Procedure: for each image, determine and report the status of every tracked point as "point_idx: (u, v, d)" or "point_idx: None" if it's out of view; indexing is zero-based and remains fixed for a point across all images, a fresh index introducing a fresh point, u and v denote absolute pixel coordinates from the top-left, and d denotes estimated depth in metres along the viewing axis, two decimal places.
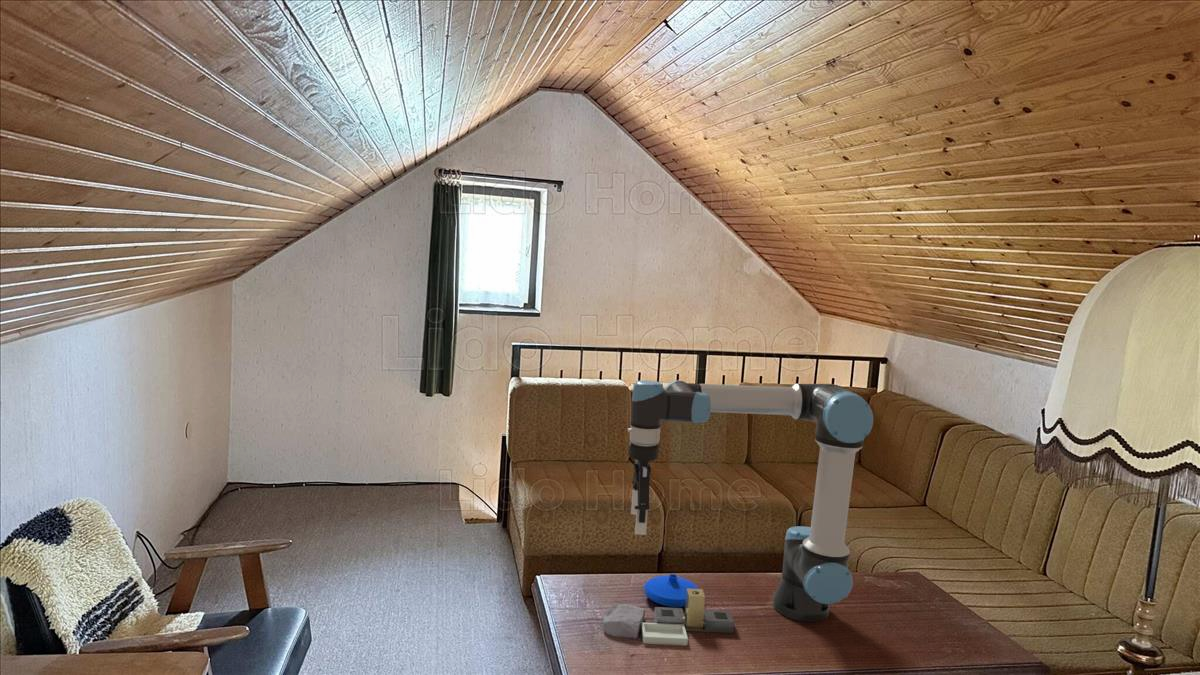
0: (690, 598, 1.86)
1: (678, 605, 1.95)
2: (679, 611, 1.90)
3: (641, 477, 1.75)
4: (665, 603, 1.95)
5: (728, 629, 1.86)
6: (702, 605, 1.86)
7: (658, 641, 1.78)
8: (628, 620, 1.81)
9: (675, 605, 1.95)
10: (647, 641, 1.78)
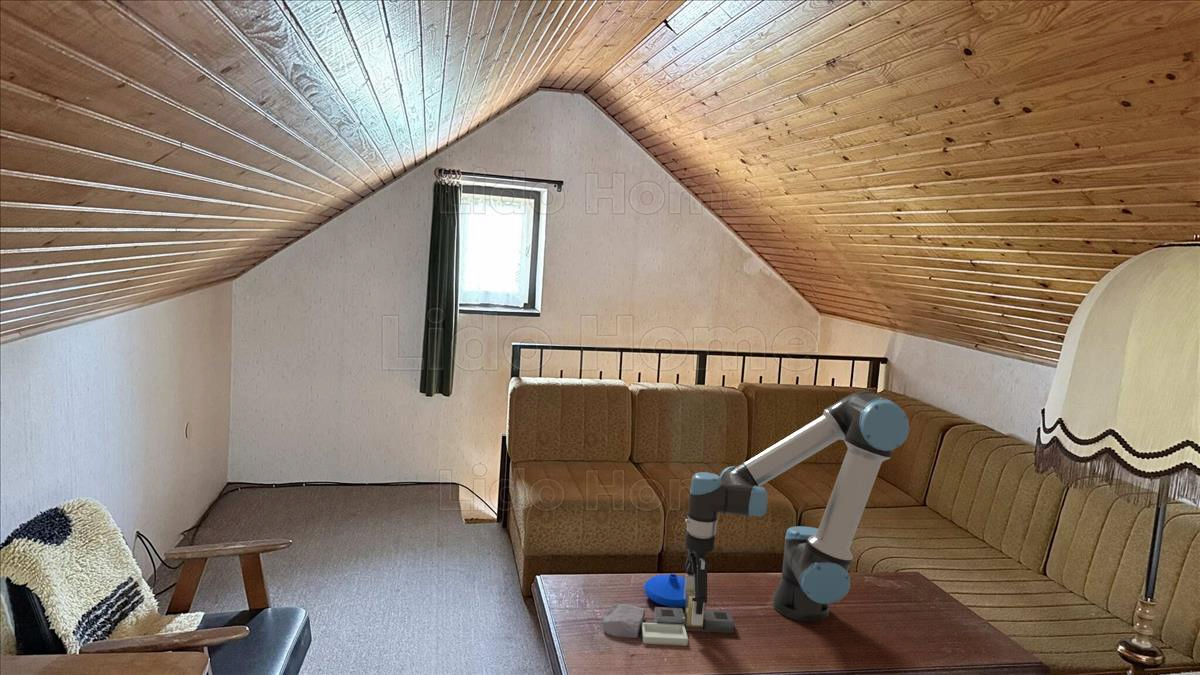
0: (690, 598, 1.86)
1: (678, 605, 1.95)
2: (679, 611, 1.90)
3: (699, 570, 1.80)
4: (665, 603, 1.95)
5: (728, 629, 1.86)
6: None
7: (658, 641, 1.78)
8: (628, 620, 1.81)
9: (675, 605, 1.95)
10: (647, 641, 1.78)
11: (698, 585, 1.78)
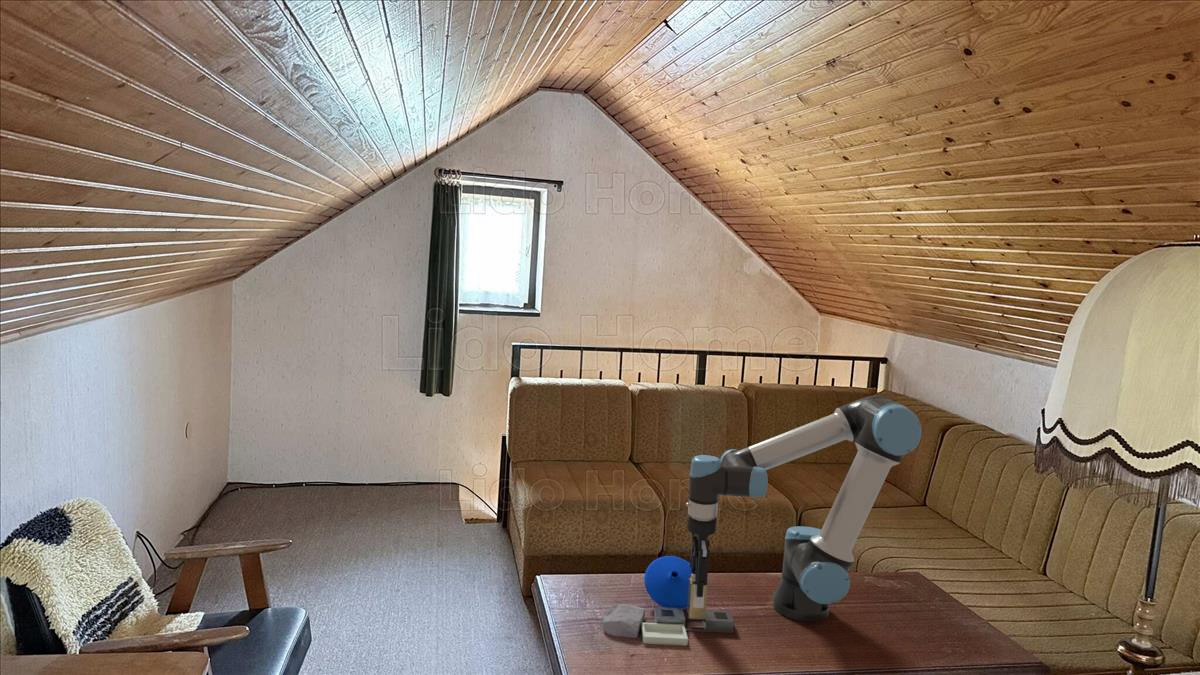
0: (692, 587, 1.85)
1: None
2: (679, 611, 1.90)
3: (701, 557, 1.80)
4: None
5: (728, 629, 1.86)
6: (705, 594, 1.86)
7: (658, 641, 1.78)
8: (628, 620, 1.81)
9: None
10: (647, 641, 1.78)
11: (699, 571, 1.81)
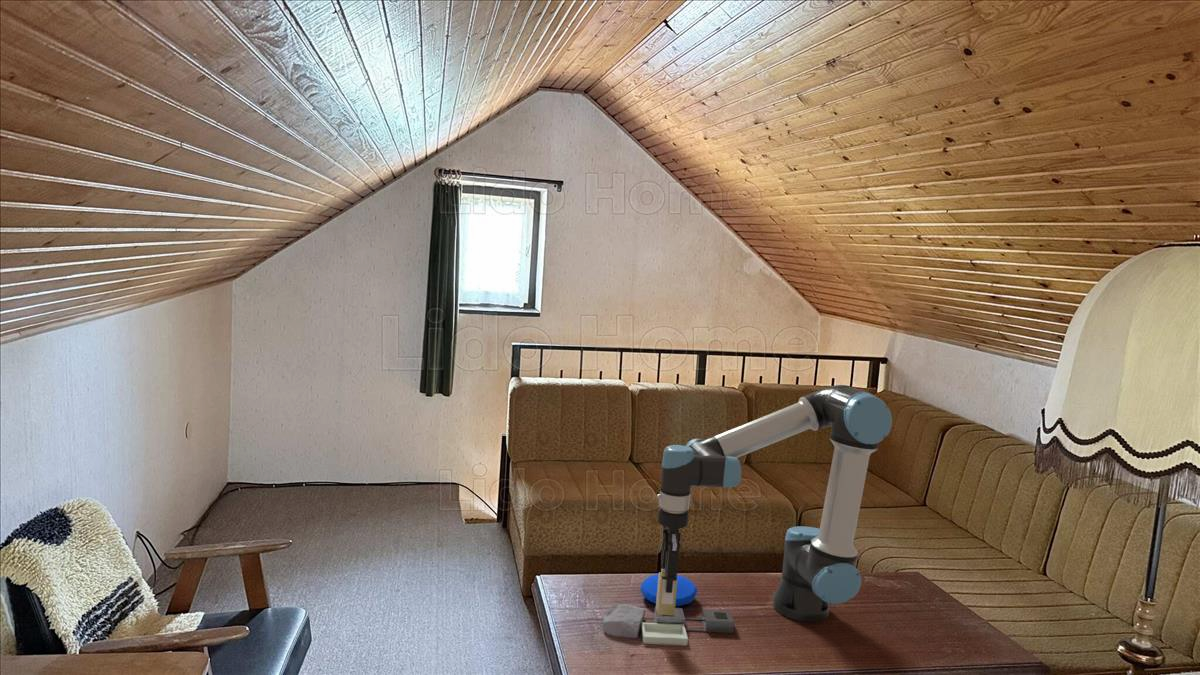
0: (662, 582, 1.78)
1: (690, 600, 1.97)
2: (679, 611, 1.90)
3: (670, 551, 1.73)
4: (680, 603, 1.95)
5: (728, 629, 1.86)
6: (674, 589, 1.78)
7: (658, 641, 1.78)
8: (628, 620, 1.81)
9: (688, 602, 1.96)
10: (647, 641, 1.78)
11: (668, 565, 1.74)
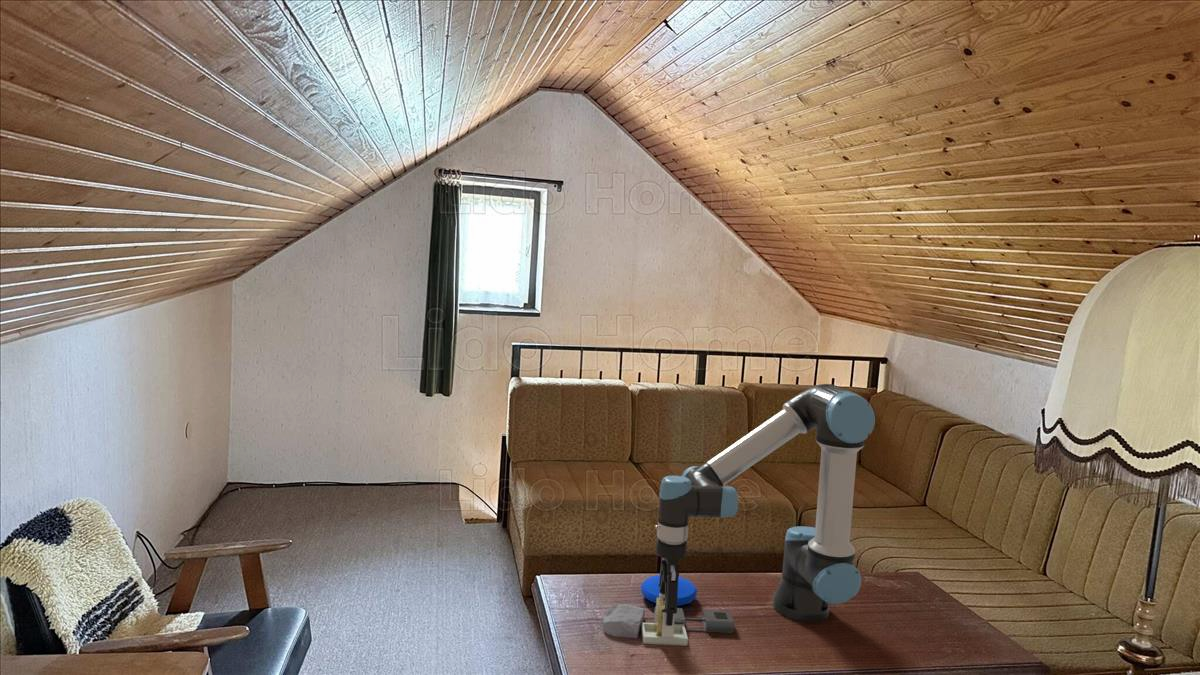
0: (660, 607, 1.79)
1: (692, 599, 1.98)
2: (679, 611, 1.90)
3: (669, 581, 1.73)
4: (684, 602, 1.95)
5: (728, 629, 1.86)
6: None
7: (658, 641, 1.78)
8: (629, 620, 1.81)
9: (690, 600, 1.97)
10: (647, 641, 1.78)
11: (668, 596, 1.72)
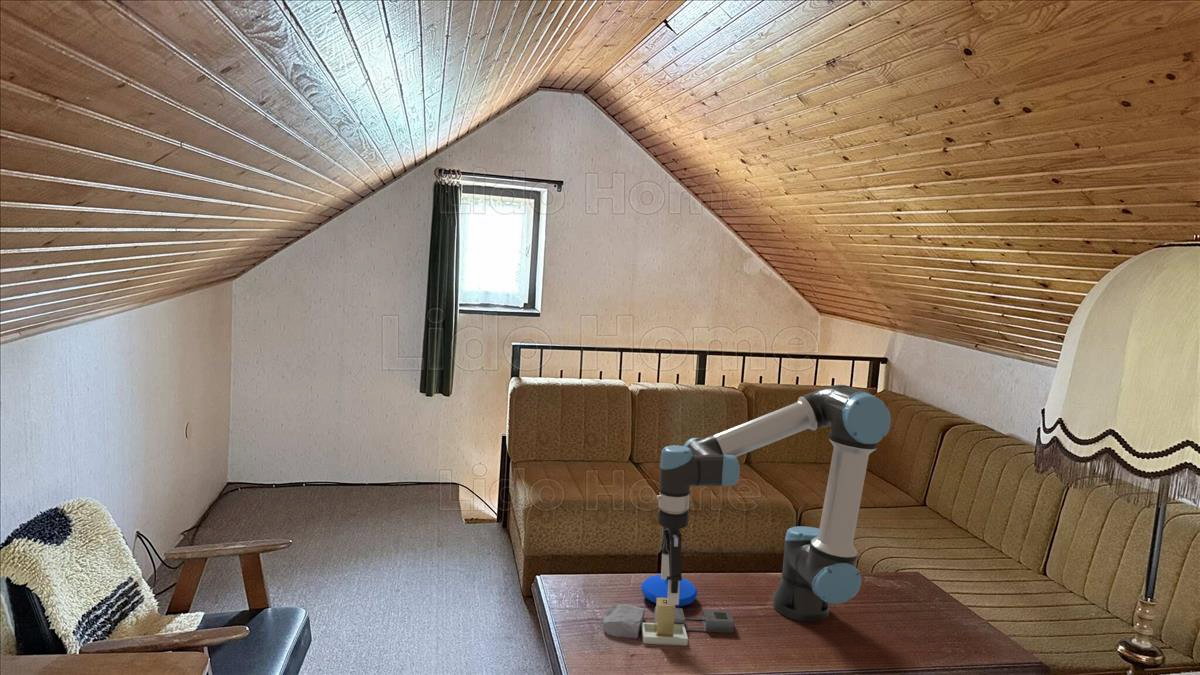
0: (660, 607, 1.79)
1: (693, 600, 1.98)
2: (679, 611, 1.90)
3: (672, 547, 1.72)
4: (685, 603, 1.96)
5: (728, 629, 1.86)
6: (672, 615, 1.79)
7: (658, 641, 1.78)
8: (629, 620, 1.81)
9: (691, 601, 1.97)
10: (647, 641, 1.78)
11: (672, 563, 1.71)
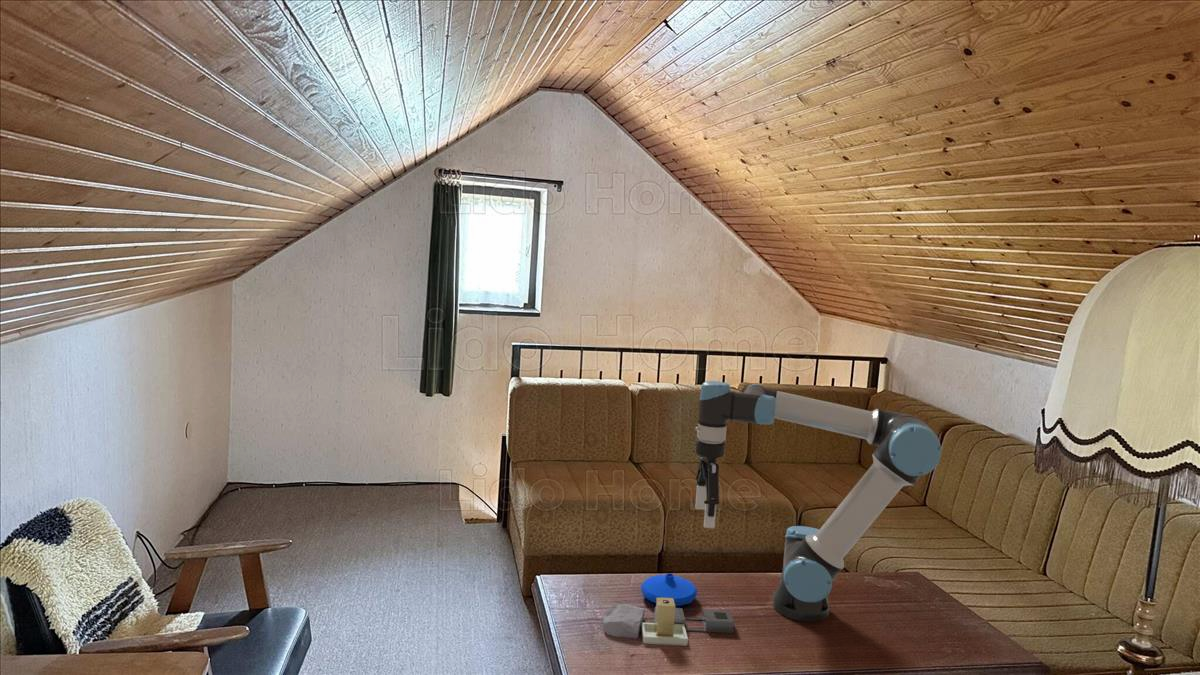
0: (660, 607, 1.79)
1: (693, 599, 1.98)
2: (679, 611, 1.90)
3: (710, 473, 1.84)
4: (685, 602, 1.96)
5: (728, 629, 1.86)
6: (672, 615, 1.79)
7: (658, 641, 1.78)
8: (629, 620, 1.81)
9: (692, 600, 1.98)
10: (647, 641, 1.78)
11: (710, 487, 1.83)
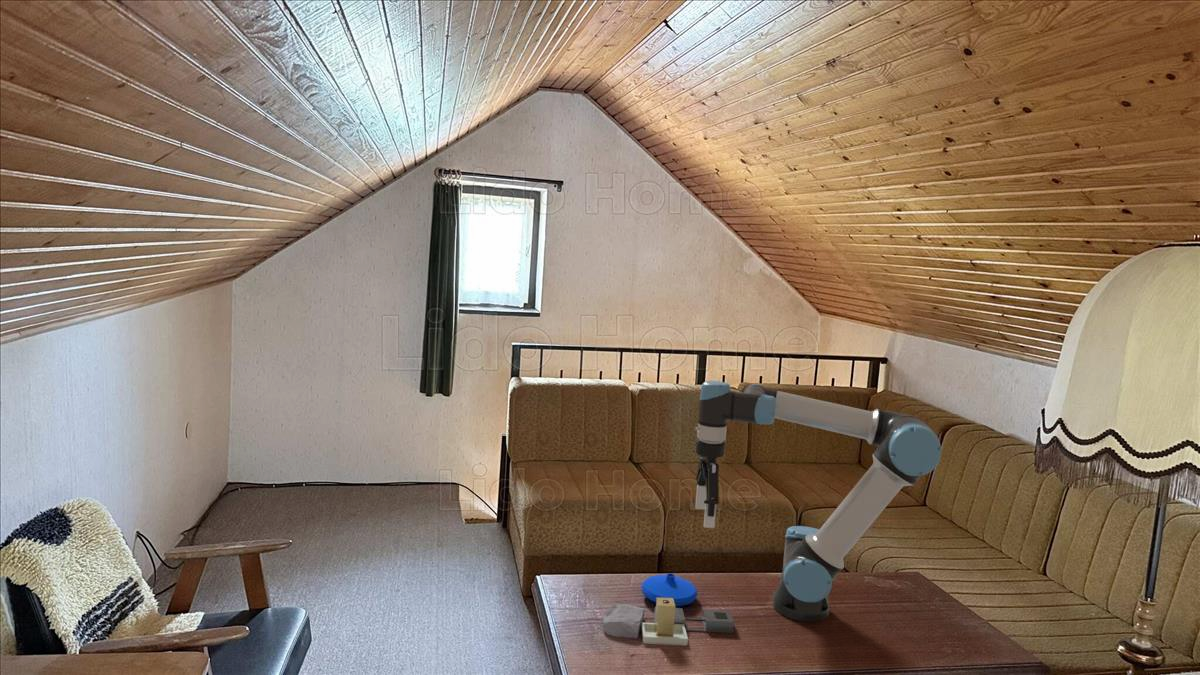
0: (660, 607, 1.79)
1: (694, 599, 1.98)
2: (679, 611, 1.90)
3: (710, 473, 1.84)
4: (686, 602, 1.96)
5: (728, 629, 1.86)
6: (672, 615, 1.79)
7: (658, 641, 1.78)
8: (629, 620, 1.81)
9: (692, 601, 1.98)
10: (647, 641, 1.78)
11: (710, 487, 1.83)
